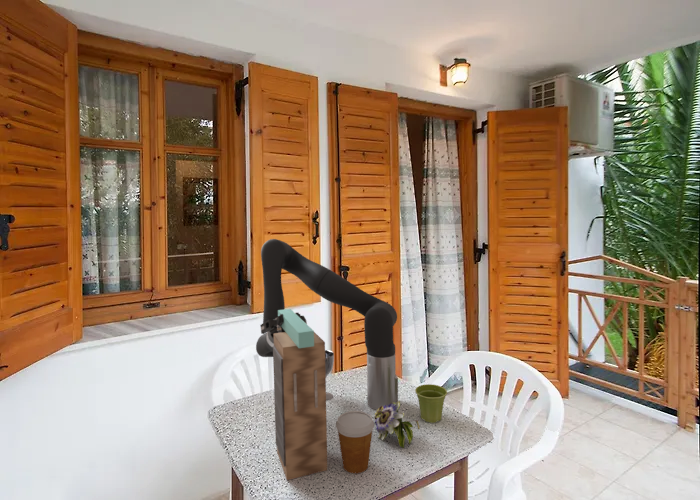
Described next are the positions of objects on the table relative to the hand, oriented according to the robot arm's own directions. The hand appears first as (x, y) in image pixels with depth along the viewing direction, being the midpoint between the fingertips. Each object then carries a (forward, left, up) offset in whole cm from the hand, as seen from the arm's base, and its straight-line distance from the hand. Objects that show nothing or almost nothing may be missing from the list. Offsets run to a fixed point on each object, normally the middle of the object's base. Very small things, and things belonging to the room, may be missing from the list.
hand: (290, 316), depth 107 cm
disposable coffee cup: (-12, +16, -35) cm, 41 cm away
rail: (0, +5, -3) cm, 6 cm away
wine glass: (-16, -24, -35) cm, 46 cm away
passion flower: (-27, +8, -36) cm, 45 cm away
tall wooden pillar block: (0, +9, -35) cm, 36 cm away
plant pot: (-42, +3, -35) cm, 55 cm away
